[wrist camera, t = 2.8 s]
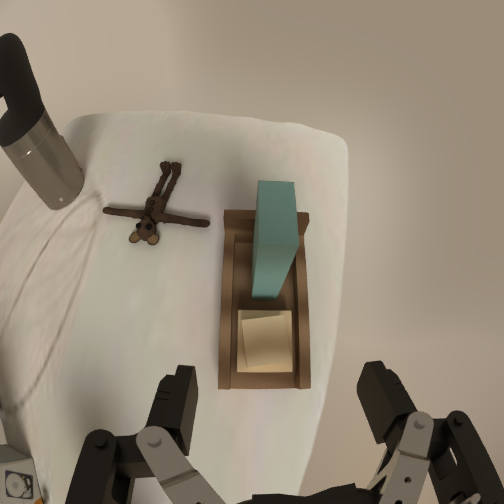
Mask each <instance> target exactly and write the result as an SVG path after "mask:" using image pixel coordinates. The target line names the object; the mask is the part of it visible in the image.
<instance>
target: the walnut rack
mask: <svg viewBox="0 0 504 504" xmlns="http://www.w3.org/2000/svg"><path fill="white" fill-rule="evenodd" d="M255 216H256V210H224V228H225V241H224V258H223V275H222V295H221V316H220V342H219V374H218V389H228V390H229V389H230V388H233V389H284V388H298V389H309V388H311V372H310V331H309V308H308V289H307V273H306V259H305V246H304V233H305V231H306V228H307V226H308V223H309V213H306V212H297V222H298V235H299V247H298V249H297V252H296V254H295V257H294V259H293V261H292V264H291V266H290V269H289V271H288V273H287V276H286V278H285V280H284V283H283V285H282V287H281V289H280V292H279V294H278V296H277V299H276V300H252V250H253V239H254V227H255ZM238 310H261V311H291V315H292V372H237V346H238Z"/></svg>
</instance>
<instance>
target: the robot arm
mask: <svg viewBox="0 0 504 504" xmlns="http://www.w3.org/2000/svg"><path fill="white" fill-rule="evenodd" d="M3 96H4V99H5V101H6V104H7V107H8V110H7V111H6V112H5V113H4V115H3V116H2V117H1V119H0V146H1V147H2V149H3V150H4V152H5V153H6V154H7V156H8V157H9V159H10V160H11V161H12V162H13V164H14V165H15V167H16V168H17V169H18V171H19V172H20V173H21V175H22V176H23V177H24V178H25V180H26V181H27V182H28V183H29V185H30V186H31V187H32V188H33V190H34V191H35V192H36V193H37V195H38V196H39V197H40V198H41V199H42V200H43V202H44V203H45V204H46V205H47V206H48V207H49V208H50V209H52V210H57V209H61V208H63V207H65V206H67V205H68V204H70V203H71V202H72V201H73V200H74V199H75V198H76V197H77V195H78V194H79V192H80V191H81V189H82V186H83V183H84V178H83V175H82V173H81V167H80V166H79V164H78V162H77V160H76V159H75V157H74V155H73V154H72V152H71V150H70V148H69V147H68V145H67V143H66V141H65V139H64V137H63V136H62V135H59V134H58V132H57V130H56V128H55V127H54V124H53V122H52V121H51V119H50V117H49V115H48V113H47V111H46V109H45V107H44V105H43V102H42V100H41V96H40V91H39V88H38V85H37V83H36V80H35V78H34V75H33V72H32V69H31V66H30V63H29V60H28V56H27V53H26V50H25V48H24V45H23V44H22V42H21V40H20V39H19V37H18V36H17V35H15V34H12V33H7V34H4V35H2V36H1V37H0V98H1V97H3ZM401 383H402V382H401V381H400V379H399V377H398V376H397V375H396V374H395V373H394V372H393V371H392V370H390V369H386V368H385V366H384V364H383V362H382V361H373V362H367V363H365V365H364V367H363V370H362V373H361V375H360V378H359V381H358V383H357V394H358V397H359V400H360V402H361V405H362V407H363V410H364V412H365V415H366V417H367V420H368V422H369V425H370V428H371V430H372V432H373V435H374V438H375V441H376V443H377V444H381V443H384V442H385V443H386V446H387V448H386V450H385V452H384V454H383V457H382V459H381V461H380V464H379V466H378V468H377V471H376V473H375V475H374V477H373V479H372V480H371V482H370V483H369V485H368V486H367V488H366V489H362V488H356V486H355V483H352V484H348V485H343V486H337V487H332V488H329V489H327V490H324V491H321V492H319V493H316V494H313V495H311V496H306V497H303V496H294V495H285V494H254V495H252V499H251V500H246V501H243V502H240V503H237V504H417V502H418V499H419V496H420V493H421V490H422V487H423V484H424V481H425V478H426V474H427V471H428V472H429V475H430V478H431V481H432V484H433V486H434V489H435V492H436V495H437V499H438V502H439V504H504V488H503V486H502V483H501V481H500V478H499V476H498V474H497V472H496V469H495V468H494V465H493V463H492V461H491V459H490V457H489V455H488V453H487V451H486V449H485V447H484V445H483V443H482V441H481V439H480V437H479V435H478V433H477V431H476V430H475V428H474V426H473V424H472V423H471V421H470V419H469V417H468V416H467V415H466V414H465V413H464V412H462V411H458V410H457V411H452V412H451V413H450V414H449V415H448V416H447V418H444V419H432V418H431V416H430V415H428V414H427V413H424V412H419V411H417V409H416V407H415V405H414V404H413V402H412V400H411V399H410V396H409V395H408V393H407V391H406V390H405V388H404V386H403V384H401ZM197 401H198V385H197V378H196V370H195V366H187V365H178V367H177V370H176V373H175V375H166V376H165V377H164V378H163V379H162V380H161V381H160V383H159V386H158V389H157V392H156V395H155V399H154V401H153V404H152V407H151V411H150V414H149V417H148V420H147V423H146V426H145V427H144V429H142V430H141V431H140V432H139V433H137V434H135V435H130V436H114V435H113V434H112V433H111V432H109V431H107V430H103V429H98V430H94V431H92V432H90V433H89V434H88V435H87V437H86V439H85V441H84V444H83V447H82V450H81V453H80V456H79V459H78V462H77V465H76V468H75V471H74V474H73V477H72V481H71V484H70V487H69V491H68V494H67V498H66V502H65V504H131V499H132V493H133V487H134V482H135V478H145V477H156V478H157V480H158V482H159V483H160V485H161V487H162V488H163V490H164V491H165V493H166V494H167V496H168V497H169V499H170V500H171V501H172V503H173V504H226V503H225V502H224V501H223V500H222V499H221V498H220V496H219V495H218V494H217V493H216V492H215V491H214V490H213V488H212V487H211V486H210V485H209V484H208V482H207V481H206V480H205V479H204V477H203V476H202V475H201V474H200V473H199V472H198V471H197V470H195V469H194V468H193V467H192V466H191V464H190V463H189V462H188V460H187V459H186V457H185V456H189V450H190V443H191V437H192V431H193V424H194V418H195V412H196V406H197ZM450 448H451V449H452V451H453V453H454V455H455V457H456V460H457V466H456V463H455V461H454V459H453V456H452V454H451V452H450Z"/></svg>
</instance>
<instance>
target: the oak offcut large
mask: <svg viewBox="0 0 504 504" xmlns="http://www.w3.org/2000/svg"><path fill="white" fill-rule="evenodd" d="M279 315H284V319H285V325H286V331H287V337H288V344H289V350H290V357H291V361H289V362H284V363H278V364H271V365H264V366H256V367H248V368H247V365H246V357H245V349H244V341H243V333H242V325H241V320H246V319H255V318H263V317H271V316H279ZM237 372H292V315H291V311H261V310H238V346H237Z"/></svg>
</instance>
